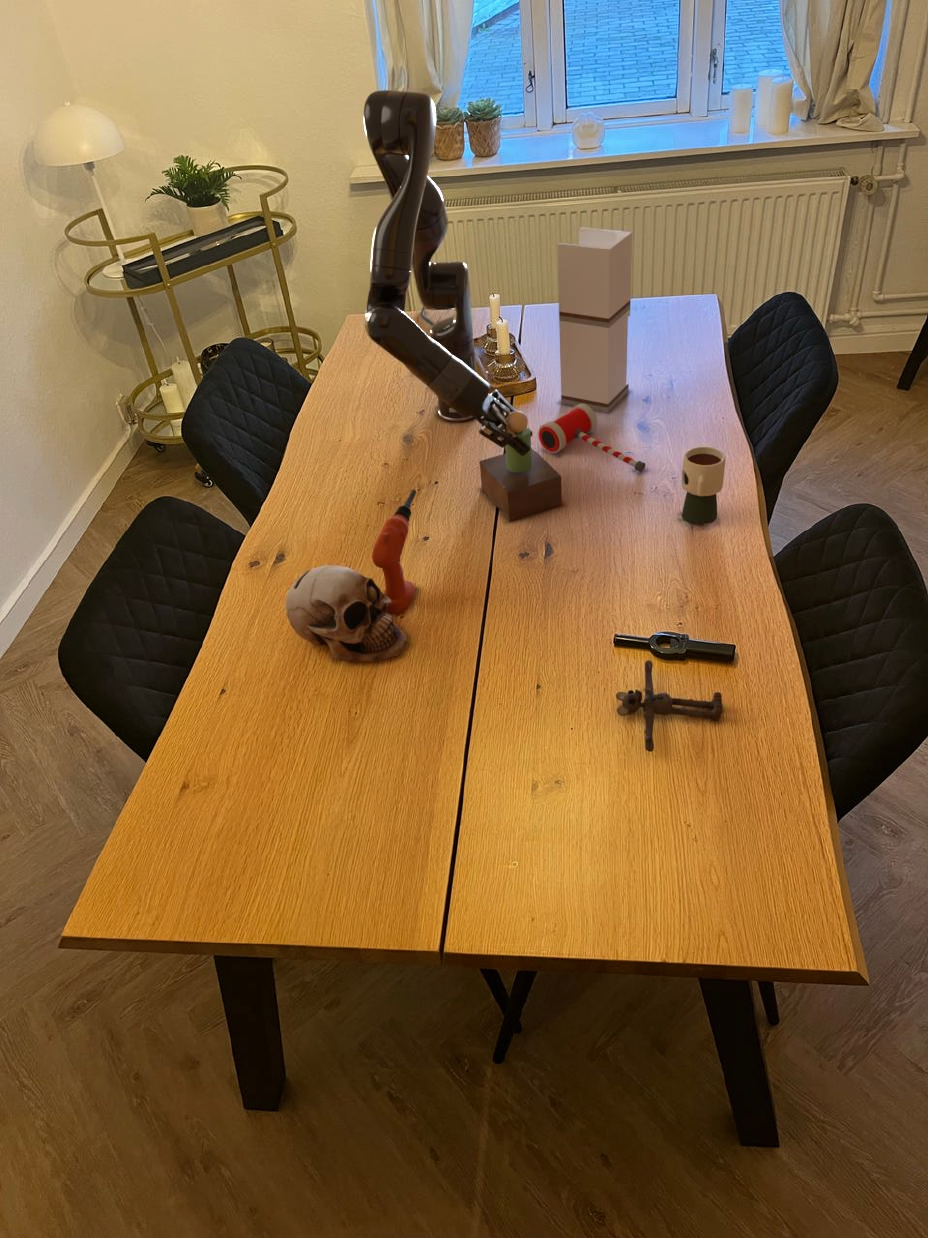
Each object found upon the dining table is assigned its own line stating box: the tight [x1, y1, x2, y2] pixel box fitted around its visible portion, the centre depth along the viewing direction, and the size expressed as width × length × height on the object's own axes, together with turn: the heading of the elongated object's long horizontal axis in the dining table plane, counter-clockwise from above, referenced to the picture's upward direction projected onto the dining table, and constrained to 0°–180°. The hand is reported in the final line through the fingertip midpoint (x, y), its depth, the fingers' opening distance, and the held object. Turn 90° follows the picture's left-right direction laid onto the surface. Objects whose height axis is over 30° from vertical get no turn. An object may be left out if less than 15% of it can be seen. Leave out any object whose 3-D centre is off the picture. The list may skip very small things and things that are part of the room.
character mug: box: [681, 445, 727, 525], centre depth 164 cm, size 11×7×13 cm, turn 164°
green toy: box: [504, 410, 532, 473], centre depth 171 cm, size 5×5×11 cm
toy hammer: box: [537, 404, 646, 473], centre depth 187 cm, size 23×12×6 cm, turn 44°
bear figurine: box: [615, 659, 724, 753], centre depth 131 cm, size 18×4×14 cm
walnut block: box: [479, 446, 563, 522], centre depth 177 cm, size 13×11×6 cm
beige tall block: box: [556, 226, 633, 414], centre depth 197 cm, size 11×11×35 cm
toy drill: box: [371, 489, 417, 614], centre depth 156 cm, size 5×19×15 cm, turn 163°
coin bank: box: [285, 564, 408, 663], centre depth 148 cm, size 16×17×13 cm
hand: (528, 444), depth 171 cm, fingers closed on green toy, 4 cm apart
